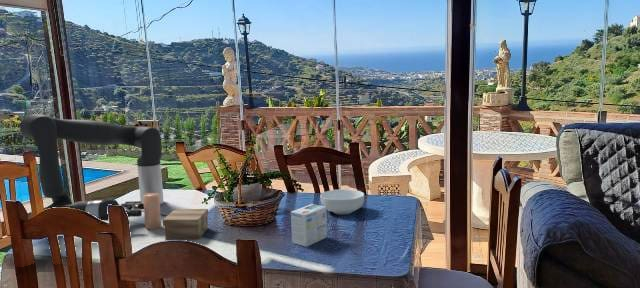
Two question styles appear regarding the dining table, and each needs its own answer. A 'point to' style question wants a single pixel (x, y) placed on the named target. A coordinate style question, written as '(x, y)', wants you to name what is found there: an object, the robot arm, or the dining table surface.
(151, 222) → the tan cylinder
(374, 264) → the dining table surface
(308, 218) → the light bulb box
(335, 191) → the cereal bowl
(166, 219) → the tan square block
